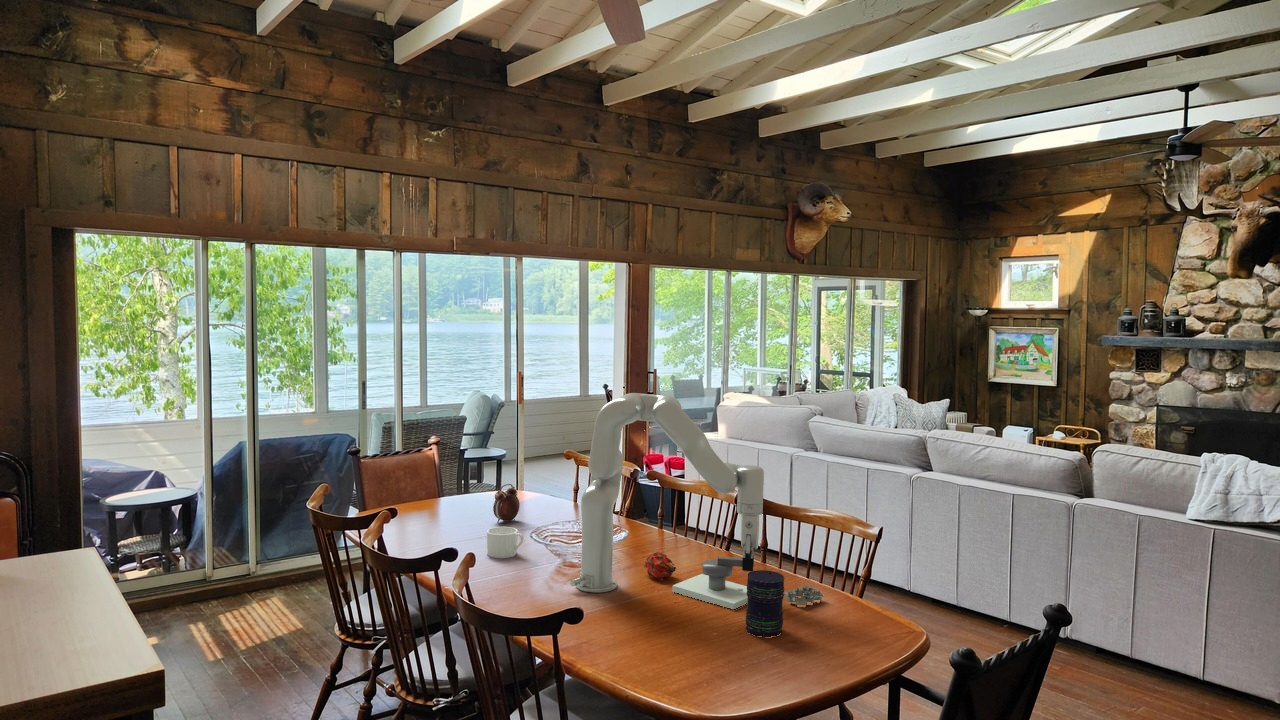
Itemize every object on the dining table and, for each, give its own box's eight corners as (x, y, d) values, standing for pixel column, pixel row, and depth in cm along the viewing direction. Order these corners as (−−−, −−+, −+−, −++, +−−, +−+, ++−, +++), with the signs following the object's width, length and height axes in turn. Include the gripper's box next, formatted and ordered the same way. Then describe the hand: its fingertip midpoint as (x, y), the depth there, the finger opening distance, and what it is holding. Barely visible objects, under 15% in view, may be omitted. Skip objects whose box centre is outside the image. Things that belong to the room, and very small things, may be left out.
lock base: (733, 610, 230) (734, 588, 229) (672, 591, 244) (672, 570, 243) (761, 597, 241) (762, 575, 241) (701, 580, 255) (701, 559, 255)
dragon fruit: (648, 575, 263) (671, 591, 253) (633, 565, 258) (655, 581, 248) (663, 553, 264) (686, 568, 255) (648, 542, 259) (671, 557, 250)
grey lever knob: (700, 575, 238) (701, 554, 238) (703, 566, 247) (704, 545, 247) (752, 579, 236) (753, 557, 235) (753, 570, 245) (753, 549, 244)
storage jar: (773, 641, 208) (775, 584, 208) (739, 632, 214) (740, 577, 213) (788, 629, 217) (790, 574, 216) (754, 621, 222) (756, 567, 221)
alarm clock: (511, 518, 324) (512, 481, 323) (520, 520, 321) (520, 483, 321) (491, 523, 315) (492, 485, 315) (500, 525, 313) (501, 487, 312)
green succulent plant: (800, 610, 232) (801, 596, 231) (781, 602, 238) (782, 589, 238) (826, 603, 238) (826, 589, 238) (807, 595, 244) (807, 582, 244)
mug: (480, 556, 274) (480, 532, 274) (497, 547, 284) (497, 525, 283) (514, 561, 269) (515, 537, 269) (530, 553, 279) (531, 530, 278)
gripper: (762, 515, 231) (760, 578, 232) (763, 502, 247) (761, 561, 248) (735, 513, 232) (733, 576, 233) (738, 500, 248) (736, 559, 249)
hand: (747, 568), depth 240 cm, fingers closed on grey lever knob, 3 cm apart
